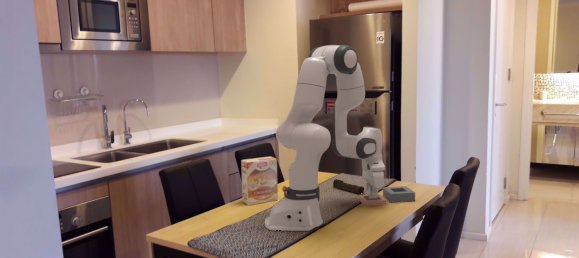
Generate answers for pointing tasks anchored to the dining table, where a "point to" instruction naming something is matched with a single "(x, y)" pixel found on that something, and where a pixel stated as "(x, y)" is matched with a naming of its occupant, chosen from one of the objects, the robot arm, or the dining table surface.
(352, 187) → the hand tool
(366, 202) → the pink square tray
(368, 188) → the spigot
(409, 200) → the socket block
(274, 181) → the coffeecake box
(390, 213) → the dining table surface
